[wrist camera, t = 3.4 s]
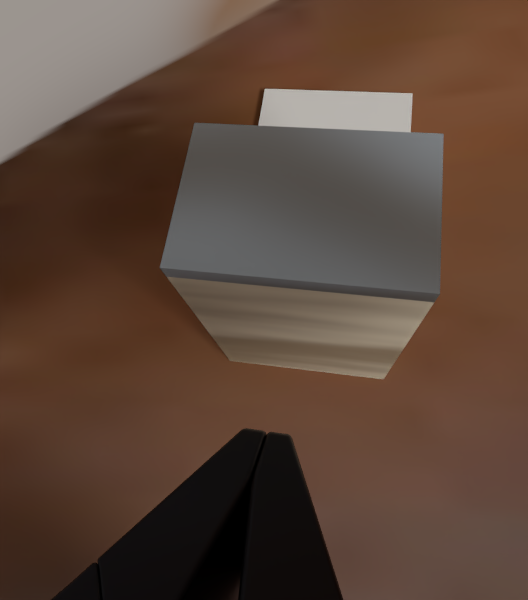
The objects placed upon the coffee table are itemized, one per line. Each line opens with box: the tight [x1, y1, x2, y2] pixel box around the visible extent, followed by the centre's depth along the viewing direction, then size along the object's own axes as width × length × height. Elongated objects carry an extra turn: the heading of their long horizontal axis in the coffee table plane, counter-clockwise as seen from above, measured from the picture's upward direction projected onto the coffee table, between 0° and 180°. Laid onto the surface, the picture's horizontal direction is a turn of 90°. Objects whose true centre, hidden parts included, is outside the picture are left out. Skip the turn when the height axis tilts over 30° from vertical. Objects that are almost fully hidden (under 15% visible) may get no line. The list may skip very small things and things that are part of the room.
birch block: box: [160, 123, 443, 379], centre depth 15 cm, size 4×6×9 cm, turn 82°
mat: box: [258, 89, 412, 132], centre depth 21 cm, size 9×7×1 cm
